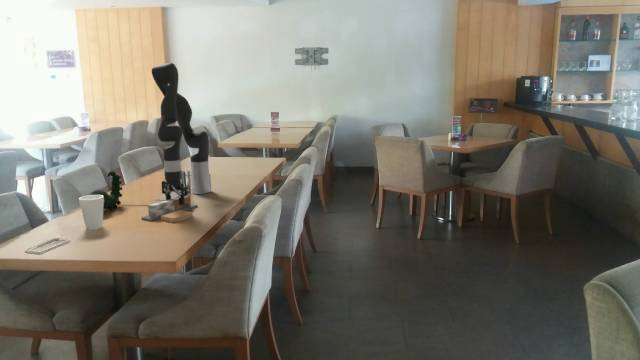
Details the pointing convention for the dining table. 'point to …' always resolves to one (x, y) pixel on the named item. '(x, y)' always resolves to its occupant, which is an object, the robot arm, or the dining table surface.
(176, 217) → the tile
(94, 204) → the foam cup
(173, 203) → the pale rectangular box
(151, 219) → the rest mat
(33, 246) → the grey rectangular frame
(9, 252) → the dining table surface
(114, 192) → the toy figurine
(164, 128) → the robot arm
